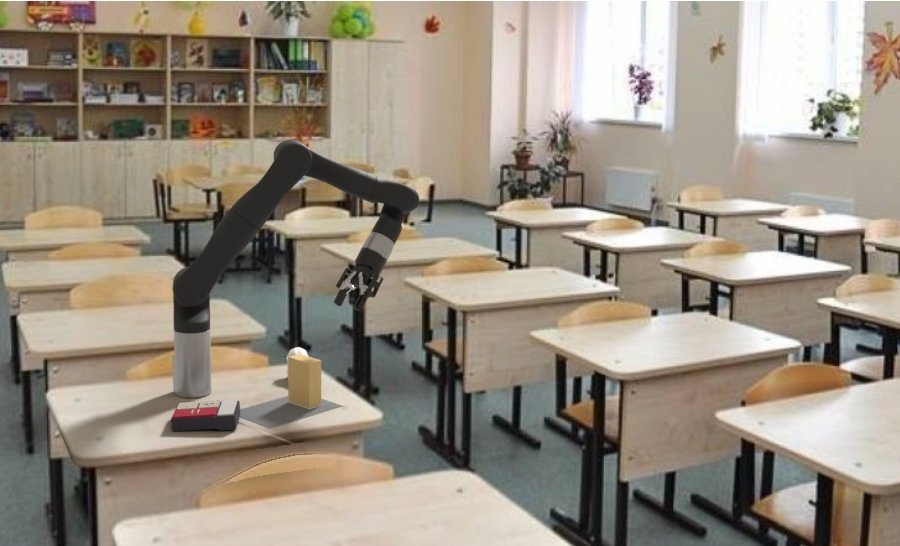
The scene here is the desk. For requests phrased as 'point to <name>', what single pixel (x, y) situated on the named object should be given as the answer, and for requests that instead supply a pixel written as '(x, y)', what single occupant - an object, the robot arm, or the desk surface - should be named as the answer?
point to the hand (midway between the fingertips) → (346, 307)
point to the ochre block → (304, 381)
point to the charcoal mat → (282, 412)
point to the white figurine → (296, 352)
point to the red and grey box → (206, 415)
